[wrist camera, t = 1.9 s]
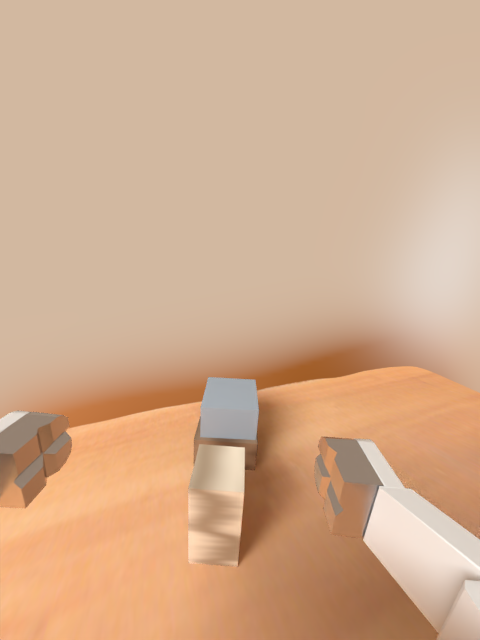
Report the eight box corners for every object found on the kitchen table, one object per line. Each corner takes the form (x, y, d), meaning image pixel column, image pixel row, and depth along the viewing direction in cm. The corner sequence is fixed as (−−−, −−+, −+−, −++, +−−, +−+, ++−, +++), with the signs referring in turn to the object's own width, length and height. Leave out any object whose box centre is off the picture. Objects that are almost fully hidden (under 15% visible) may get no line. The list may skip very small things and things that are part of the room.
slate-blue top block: (253, 404, 41) (255, 379, 40) (256, 439, 34) (258, 410, 32) (207, 402, 41) (208, 377, 40) (200, 437, 34) (200, 407, 32)
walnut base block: (253, 427, 43) (255, 404, 42) (254, 471, 34) (257, 444, 33) (204, 424, 43) (204, 400, 42) (193, 467, 34) (194, 439, 33)
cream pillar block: (239, 513, 28) (244, 447, 26) (237, 566, 24) (244, 492, 21) (198, 510, 29) (199, 444, 26) (188, 562, 24) (188, 488, 21)
